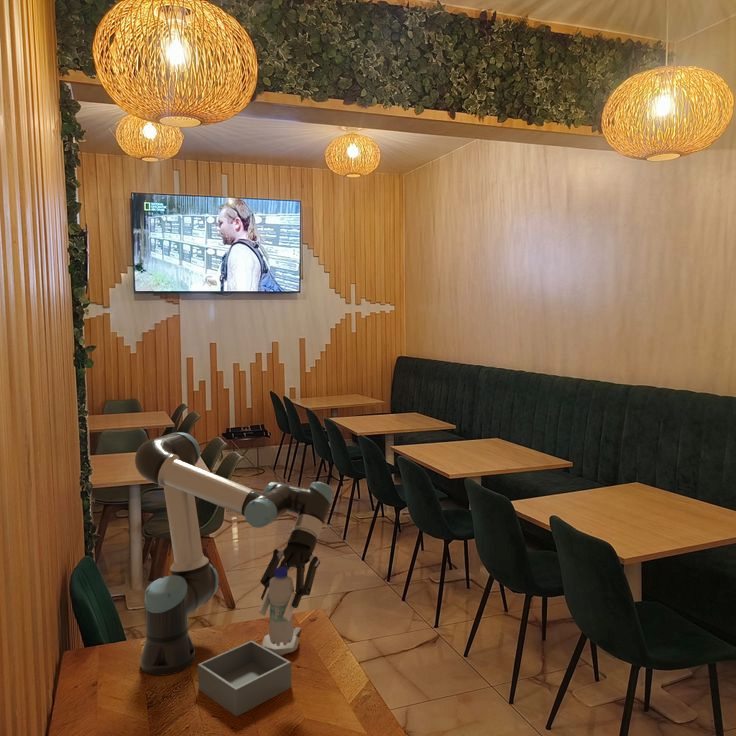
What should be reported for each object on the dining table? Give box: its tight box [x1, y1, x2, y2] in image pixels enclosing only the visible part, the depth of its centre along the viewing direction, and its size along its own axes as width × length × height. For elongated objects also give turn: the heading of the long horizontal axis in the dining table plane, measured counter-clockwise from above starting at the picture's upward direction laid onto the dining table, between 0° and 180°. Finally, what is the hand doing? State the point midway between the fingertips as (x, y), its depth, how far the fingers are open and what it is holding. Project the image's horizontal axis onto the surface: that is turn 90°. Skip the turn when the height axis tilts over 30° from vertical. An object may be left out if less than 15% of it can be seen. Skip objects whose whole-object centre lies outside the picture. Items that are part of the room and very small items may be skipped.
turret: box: [261, 626, 302, 657], centre depth 195 cm, size 10×20×5 cm, turn 173°
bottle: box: [268, 566, 295, 646], centre depth 166 cm, size 7×7×20 cm
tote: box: [197, 639, 292, 717], centre depth 171 cm, size 18×18×7 cm
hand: (273, 616), depth 163 cm, fingers closed on bottle, 7 cm apart
